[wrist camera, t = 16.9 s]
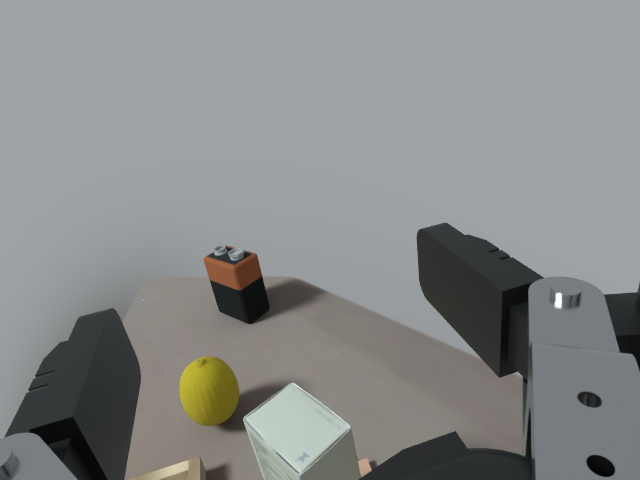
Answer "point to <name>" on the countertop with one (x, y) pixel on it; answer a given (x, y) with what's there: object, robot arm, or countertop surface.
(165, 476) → the square wooden frame
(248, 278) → the battery
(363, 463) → the terracotta tile
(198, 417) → the lemon
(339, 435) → the skincare box
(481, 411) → the countertop surface
